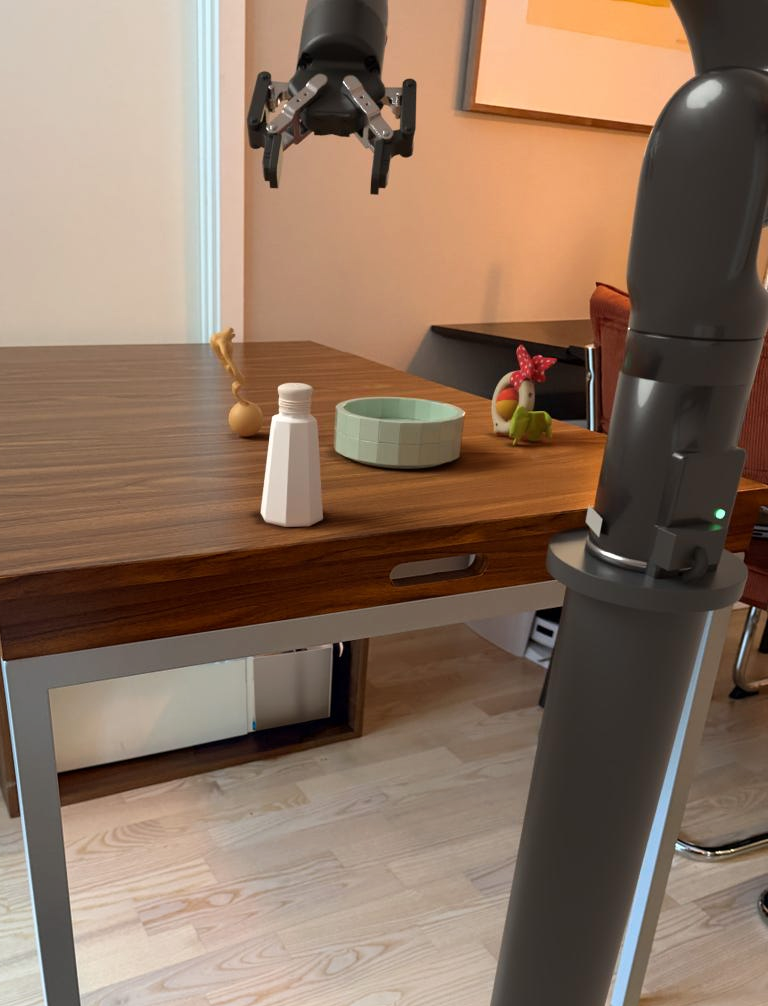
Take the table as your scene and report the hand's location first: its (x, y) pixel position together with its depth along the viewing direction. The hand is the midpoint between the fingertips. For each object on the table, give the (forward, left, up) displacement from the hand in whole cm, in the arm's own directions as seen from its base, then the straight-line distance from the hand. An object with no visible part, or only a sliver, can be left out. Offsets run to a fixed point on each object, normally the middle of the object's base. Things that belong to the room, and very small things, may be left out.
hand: (324, 183), depth 72 cm
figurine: (+21, +1, -26) cm, 33 cm away
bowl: (+8, -13, -26) cm, 30 cm away
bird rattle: (+11, -30, -26) cm, 41 cm away
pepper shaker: (-9, +6, -26) cm, 28 cm away
